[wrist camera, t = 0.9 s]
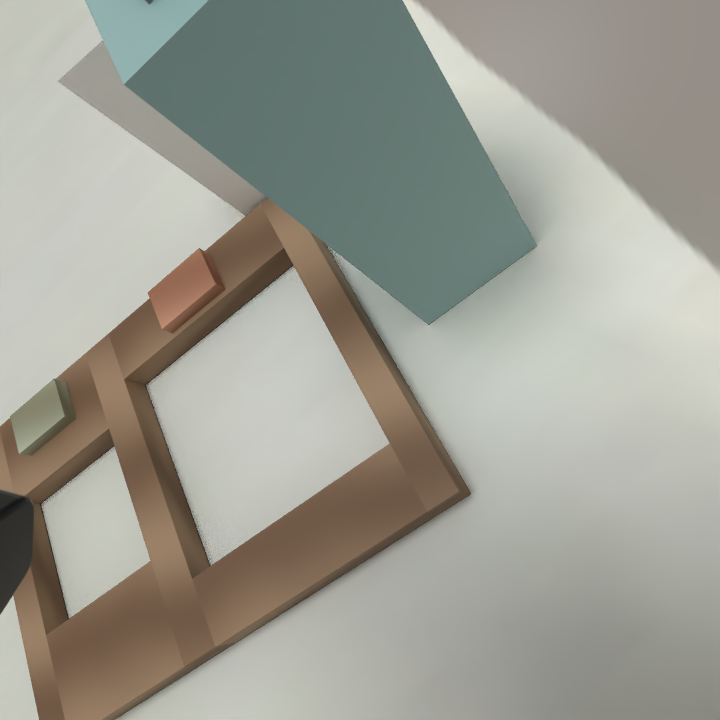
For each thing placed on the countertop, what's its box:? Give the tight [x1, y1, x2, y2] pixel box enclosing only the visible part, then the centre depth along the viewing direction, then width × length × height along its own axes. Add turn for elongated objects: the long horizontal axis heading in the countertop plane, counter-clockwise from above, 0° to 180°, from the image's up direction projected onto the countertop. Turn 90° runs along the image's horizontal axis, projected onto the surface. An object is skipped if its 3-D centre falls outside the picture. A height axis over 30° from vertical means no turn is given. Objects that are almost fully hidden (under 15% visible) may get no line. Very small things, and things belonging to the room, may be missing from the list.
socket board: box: [0, 198, 471, 720], centre depth 25 cm, size 14×19×2 cm
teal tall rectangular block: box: [85, 0, 537, 325], centre depth 17 cm, size 4×4×15 cm
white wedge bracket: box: [58, 41, 267, 216], centre depth 25 cm, size 4×10×9 cm, turn 24°
